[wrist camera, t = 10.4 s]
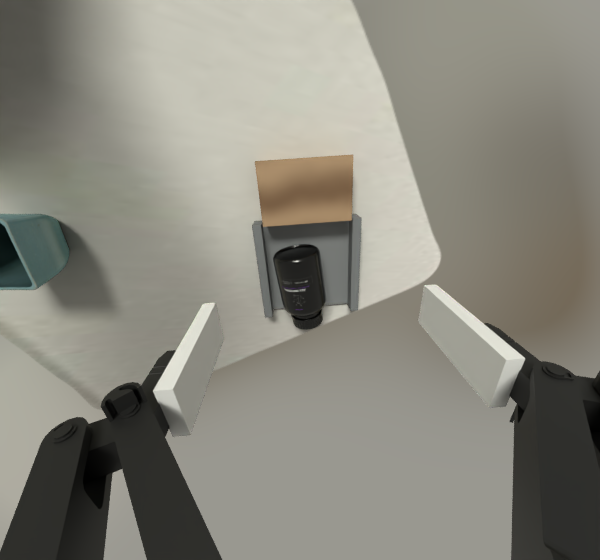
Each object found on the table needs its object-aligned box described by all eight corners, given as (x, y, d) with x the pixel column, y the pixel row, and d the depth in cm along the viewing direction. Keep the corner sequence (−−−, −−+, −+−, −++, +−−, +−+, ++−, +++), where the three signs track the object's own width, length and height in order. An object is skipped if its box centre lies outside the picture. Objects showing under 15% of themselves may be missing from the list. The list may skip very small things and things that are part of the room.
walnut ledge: (258, 161, 35) (254, 161, 31) (346, 155, 35) (353, 154, 31) (265, 220, 38) (263, 226, 34) (345, 214, 38) (351, 220, 34)
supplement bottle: (290, 264, 32) (306, 340, 37) (329, 246, 35) (339, 318, 40) (262, 255, 37) (279, 323, 42) (298, 240, 40) (310, 304, 45)
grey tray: (254, 221, 38) (252, 226, 35) (356, 214, 38) (361, 218, 35) (266, 307, 44) (265, 317, 42) (353, 301, 44) (357, 310, 42)
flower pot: (88, 264, 40) (37, 290, 31) (29, 264, 39) (-39, 291, 31) (68, 205, 36) (3, 218, 28) (1, 205, 35) (-84, 218, 27)
